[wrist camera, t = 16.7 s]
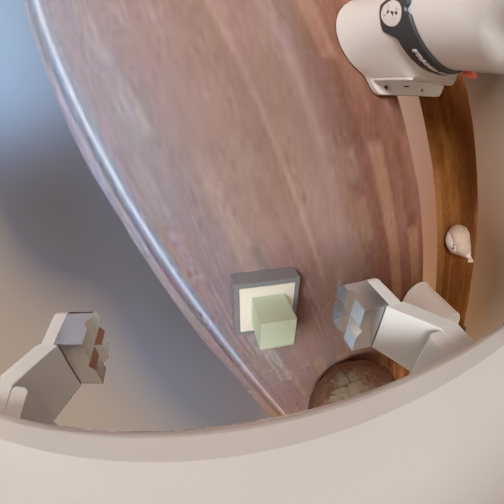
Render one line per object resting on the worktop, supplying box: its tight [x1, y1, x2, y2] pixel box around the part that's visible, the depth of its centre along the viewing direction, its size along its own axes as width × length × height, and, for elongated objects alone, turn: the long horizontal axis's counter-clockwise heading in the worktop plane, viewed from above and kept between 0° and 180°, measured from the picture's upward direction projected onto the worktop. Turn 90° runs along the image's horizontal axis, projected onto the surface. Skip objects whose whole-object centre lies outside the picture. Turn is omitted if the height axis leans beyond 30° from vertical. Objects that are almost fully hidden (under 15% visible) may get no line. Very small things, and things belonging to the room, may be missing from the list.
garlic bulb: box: [445, 225, 474, 262], centre depth 47 cm, size 7×6×8 cm
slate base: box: [231, 267, 300, 335], centre depth 45 cm, size 10×10×3 cm
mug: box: [403, 282, 460, 324], centre depth 51 cm, size 12×8×12 cm
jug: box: [308, 360, 396, 409], centre depth 50 cm, size 22×22×30 cm
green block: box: [251, 293, 297, 350], centre depth 41 cm, size 5×5×6 cm
